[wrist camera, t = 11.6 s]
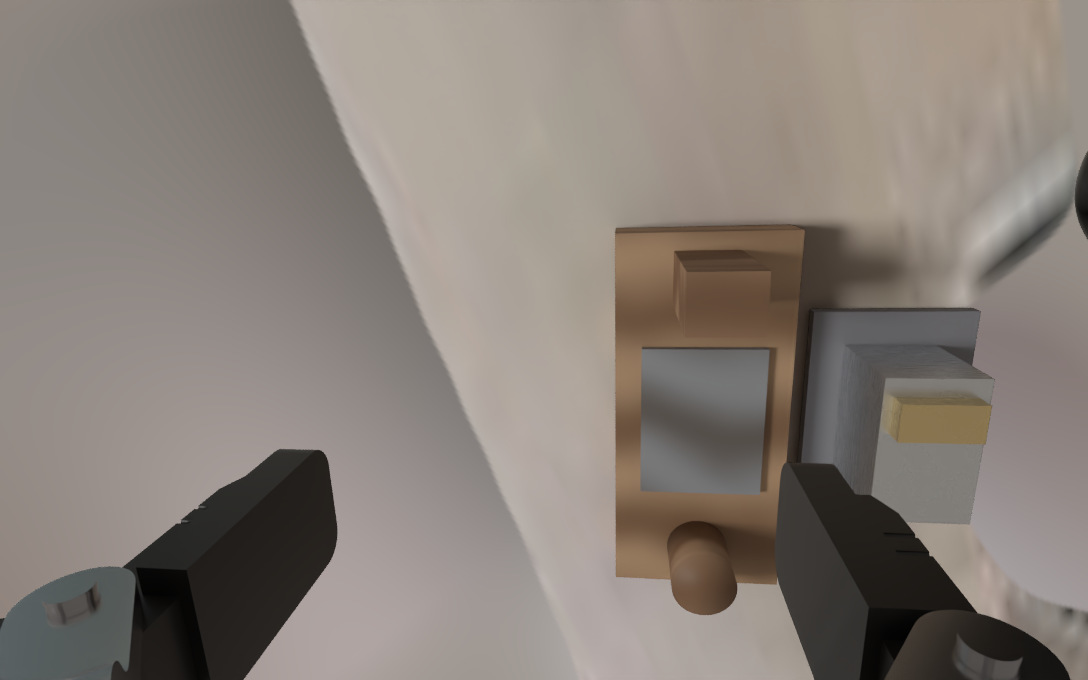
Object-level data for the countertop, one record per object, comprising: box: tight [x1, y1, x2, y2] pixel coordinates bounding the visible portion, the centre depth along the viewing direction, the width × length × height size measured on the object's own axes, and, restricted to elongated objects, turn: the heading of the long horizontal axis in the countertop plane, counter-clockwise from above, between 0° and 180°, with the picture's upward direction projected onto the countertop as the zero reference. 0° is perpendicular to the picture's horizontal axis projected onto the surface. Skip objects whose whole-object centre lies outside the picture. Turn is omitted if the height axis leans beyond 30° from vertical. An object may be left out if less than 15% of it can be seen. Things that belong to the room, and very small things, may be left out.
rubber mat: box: [797, 308, 980, 464], centre depth 38 cm, size 12×9×1 cm
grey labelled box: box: [832, 345, 995, 524], centre depth 34 cm, size 8×5×7 cm, turn 2°
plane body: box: [615, 225, 805, 615], centre depth 35 cm, size 22×10×10 cm, turn 2°
